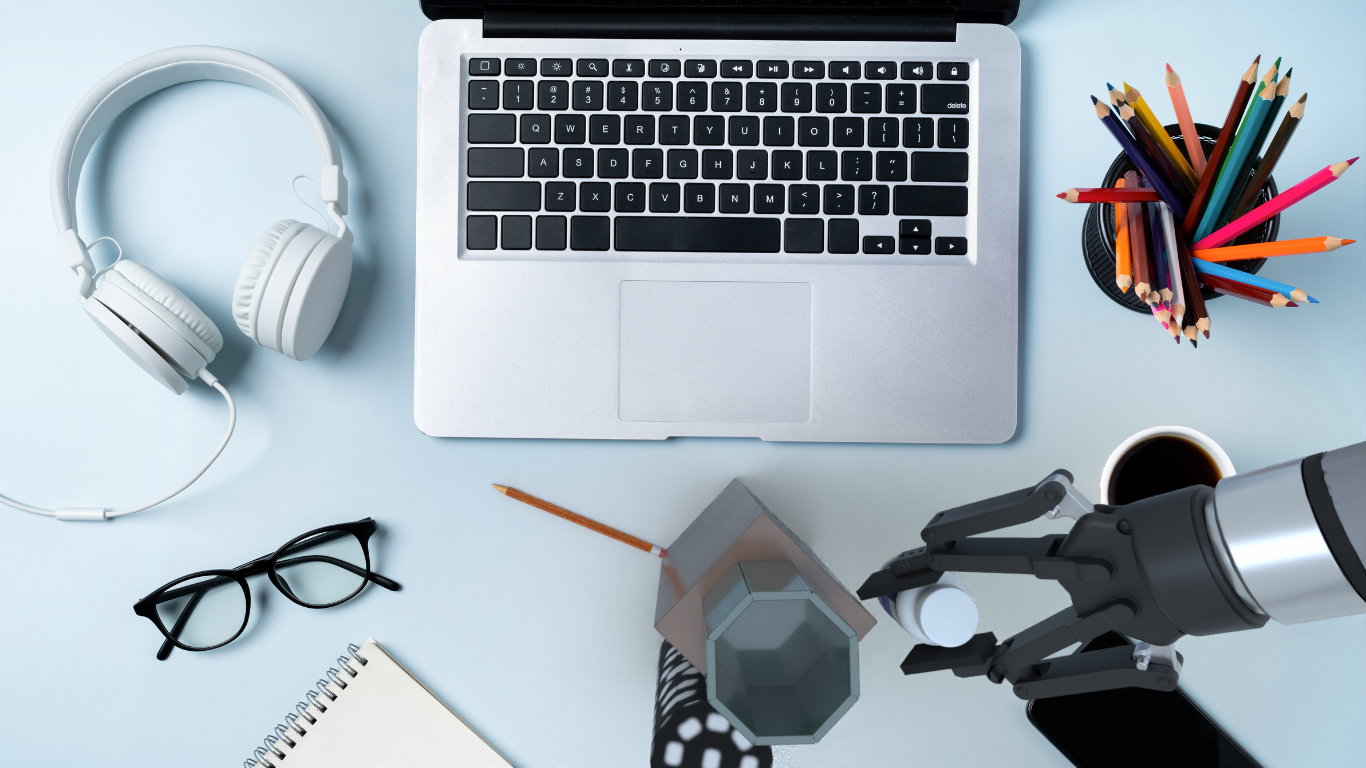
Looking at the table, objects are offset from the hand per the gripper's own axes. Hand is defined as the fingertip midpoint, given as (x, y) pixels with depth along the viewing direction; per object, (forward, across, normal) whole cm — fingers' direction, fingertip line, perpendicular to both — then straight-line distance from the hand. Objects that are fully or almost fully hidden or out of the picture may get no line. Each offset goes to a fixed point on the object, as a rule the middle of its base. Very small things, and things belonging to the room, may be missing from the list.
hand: (889, 623), depth 56 cm
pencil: (+25, +17, +2) cm, 30 cm away
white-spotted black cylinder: (+23, 0, 0) cm, 23 cm away
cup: (0, +7, +11) cm, 13 cm away
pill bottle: (+2, 0, -6) cm, 6 cm away
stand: (+17, +7, -6) cm, 19 cm away
